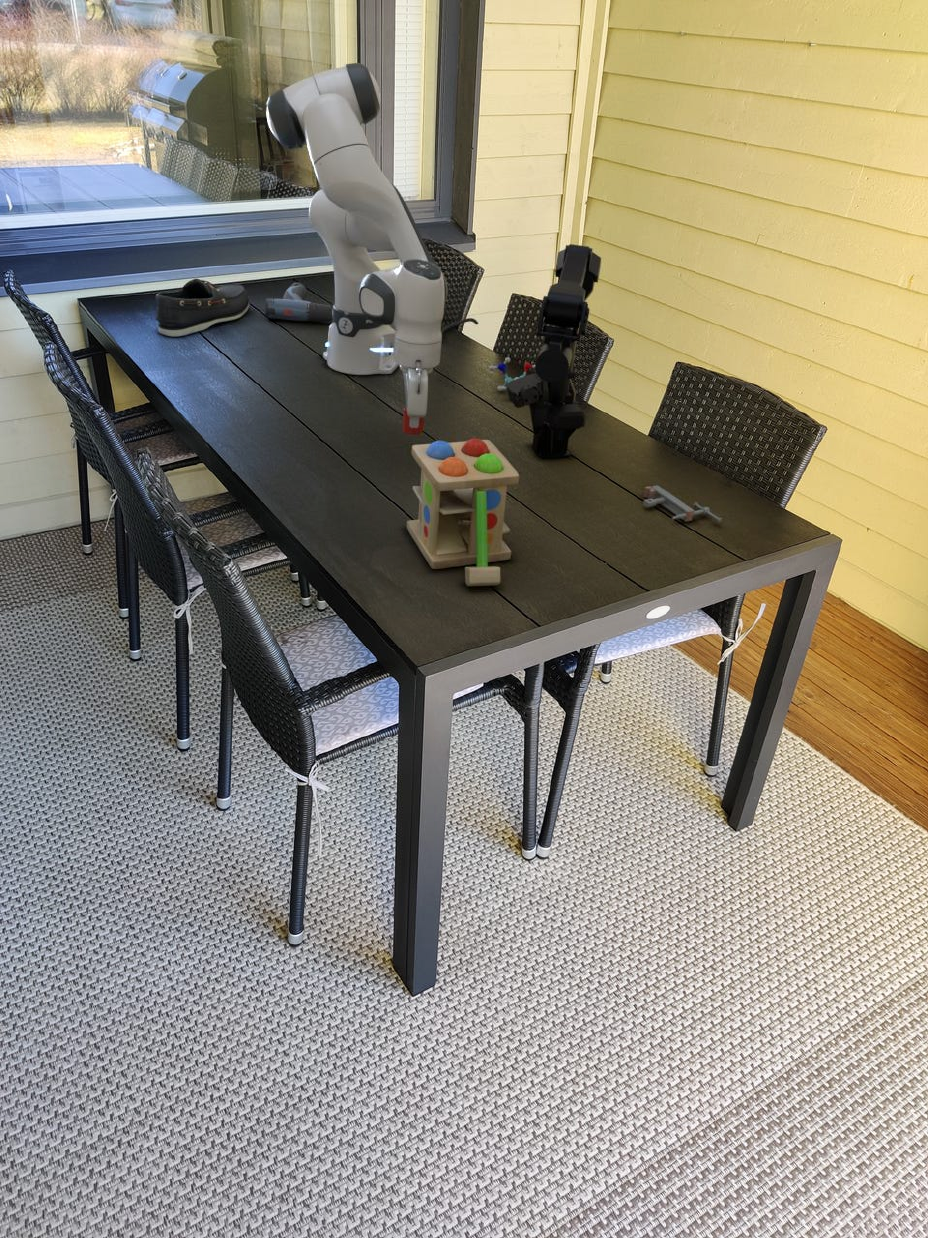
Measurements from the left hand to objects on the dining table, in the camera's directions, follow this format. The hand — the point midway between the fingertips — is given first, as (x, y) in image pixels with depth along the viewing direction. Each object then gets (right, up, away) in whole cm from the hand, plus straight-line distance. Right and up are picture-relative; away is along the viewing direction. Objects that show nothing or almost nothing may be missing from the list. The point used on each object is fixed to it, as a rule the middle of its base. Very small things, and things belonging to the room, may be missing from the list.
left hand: (413, 420), depth 193 cm
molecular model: (+21, +14, +38) cm, 46 cm away
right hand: (+25, -6, -9) cm, 27 cm away
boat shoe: (-58, +39, +63) cm, 94 cm away
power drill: (-33, +44, +74) cm, 93 cm away
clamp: (+50, -19, -6) cm, 54 cm away
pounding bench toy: (+10, -28, -26) cm, 40 cm away
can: (0, -2, +1) cm, 2 cm away
